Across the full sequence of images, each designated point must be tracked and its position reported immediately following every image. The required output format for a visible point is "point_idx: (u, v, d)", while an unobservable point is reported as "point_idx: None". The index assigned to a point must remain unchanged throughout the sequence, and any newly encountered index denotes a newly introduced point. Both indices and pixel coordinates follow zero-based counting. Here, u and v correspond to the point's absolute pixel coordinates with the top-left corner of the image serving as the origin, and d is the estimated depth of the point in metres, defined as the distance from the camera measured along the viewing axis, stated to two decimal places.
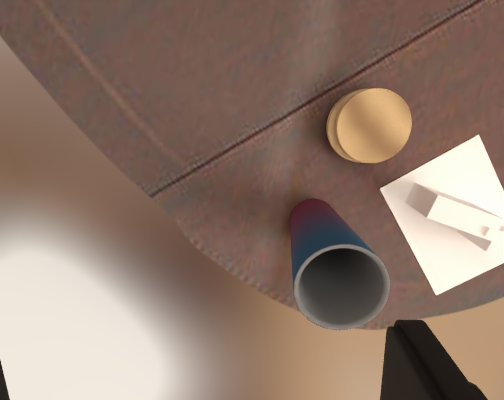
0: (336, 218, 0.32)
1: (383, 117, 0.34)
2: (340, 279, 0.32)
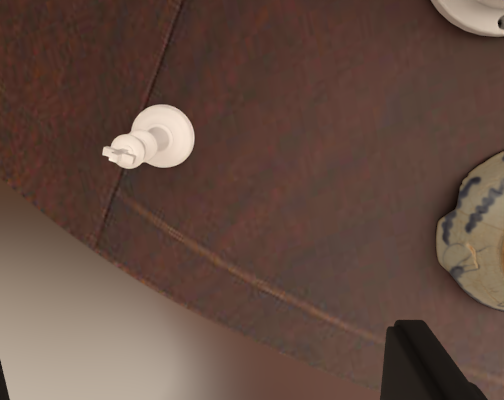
0: None
1: None
2: None
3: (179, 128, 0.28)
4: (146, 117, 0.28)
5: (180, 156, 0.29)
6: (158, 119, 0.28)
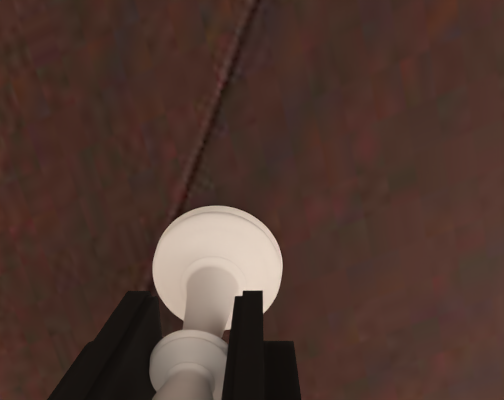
0: None
1: None
2: None
3: (257, 259, 0.13)
4: (185, 239, 0.13)
5: None
6: (212, 244, 0.13)
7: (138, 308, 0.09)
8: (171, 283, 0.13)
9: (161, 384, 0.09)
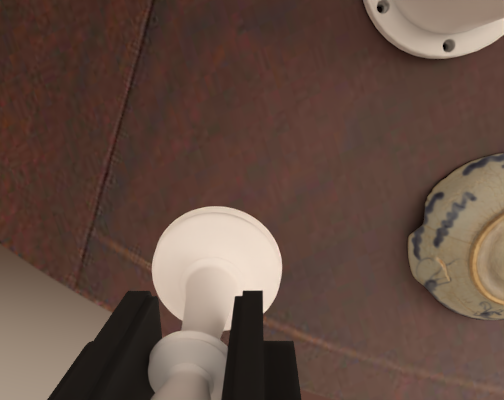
0: None
1: None
2: None
3: (256, 259, 0.13)
4: (185, 240, 0.13)
5: None
6: (212, 244, 0.13)
7: (138, 308, 0.09)
8: (170, 284, 0.13)
9: (159, 385, 0.09)
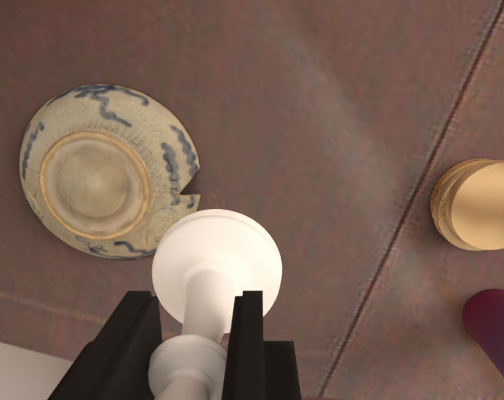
0: None
1: (501, 193, 0.27)
2: None
3: (256, 262, 0.13)
4: (185, 243, 0.13)
5: None
6: (212, 248, 0.13)
7: (138, 308, 0.09)
8: (170, 287, 0.13)
9: (159, 389, 0.09)
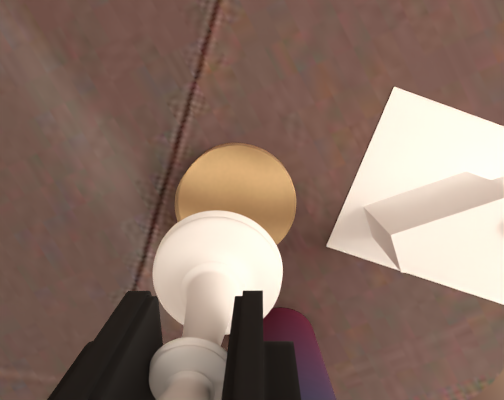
0: None
1: (237, 185, 0.21)
2: None
3: (257, 264, 0.13)
4: (185, 244, 0.13)
5: None
6: (213, 249, 0.13)
7: (138, 308, 0.09)
8: (171, 288, 0.13)
9: (160, 392, 0.09)
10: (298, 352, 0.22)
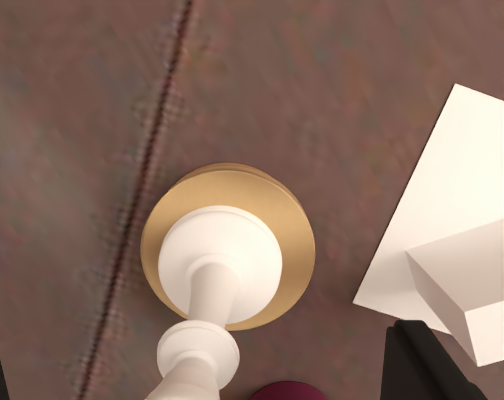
0: None
1: None
2: None
3: (257, 256, 0.14)
4: (189, 237, 0.13)
5: (258, 305, 0.14)
6: (215, 241, 0.13)
7: None
8: (176, 279, 0.14)
9: (168, 371, 0.09)
10: None
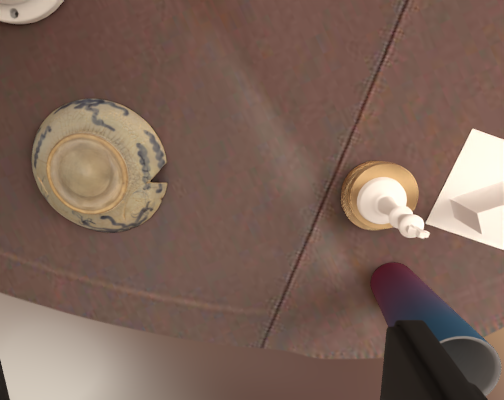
0: (410, 294, 0.35)
1: None
2: None
3: (400, 195, 0.36)
4: (375, 188, 0.36)
5: None
6: (385, 189, 0.36)
7: None
8: (368, 204, 0.37)
9: (393, 220, 0.32)
10: (419, 282, 0.38)
